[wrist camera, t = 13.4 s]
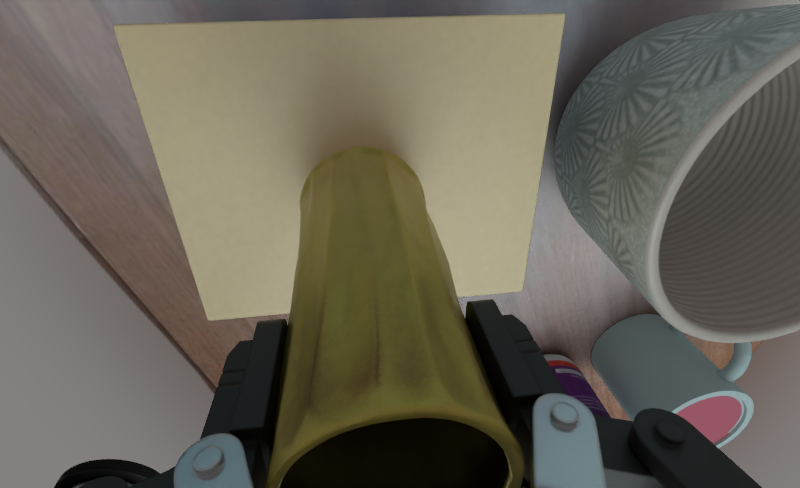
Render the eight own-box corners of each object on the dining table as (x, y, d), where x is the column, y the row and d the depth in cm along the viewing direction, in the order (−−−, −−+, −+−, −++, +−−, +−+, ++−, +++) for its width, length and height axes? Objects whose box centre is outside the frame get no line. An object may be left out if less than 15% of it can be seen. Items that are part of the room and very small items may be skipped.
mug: (637, 383, 48) (703, 465, 39) (574, 368, 45) (629, 452, 37) (720, 292, 42) (817, 364, 34) (653, 268, 40) (741, 340, 31)
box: (239, 247, 33) (207, 321, 25) (183, 20, 25) (111, 24, 17) (481, 228, 35) (523, 291, 27) (500, 12, 27) (566, 13, 19)
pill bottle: (524, 343, 42) (600, 481, 30) (588, 355, 44) (684, 488, 32) (491, 397, 46) (547, 540, 33) (552, 405, 48) (626, 543, 36)
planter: (697, 211, 37) (894, 322, 24) (514, 235, 36) (615, 365, 23) (767, -10, 28) (1133, -27, 15) (531, 11, 27) (708, 12, 14)
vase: (370, 277, 23) (408, 597, 10) (274, 214, 20) (170, 536, 8) (448, 197, 21) (608, 466, 8) (353, 116, 18) (382, 331, 6)
